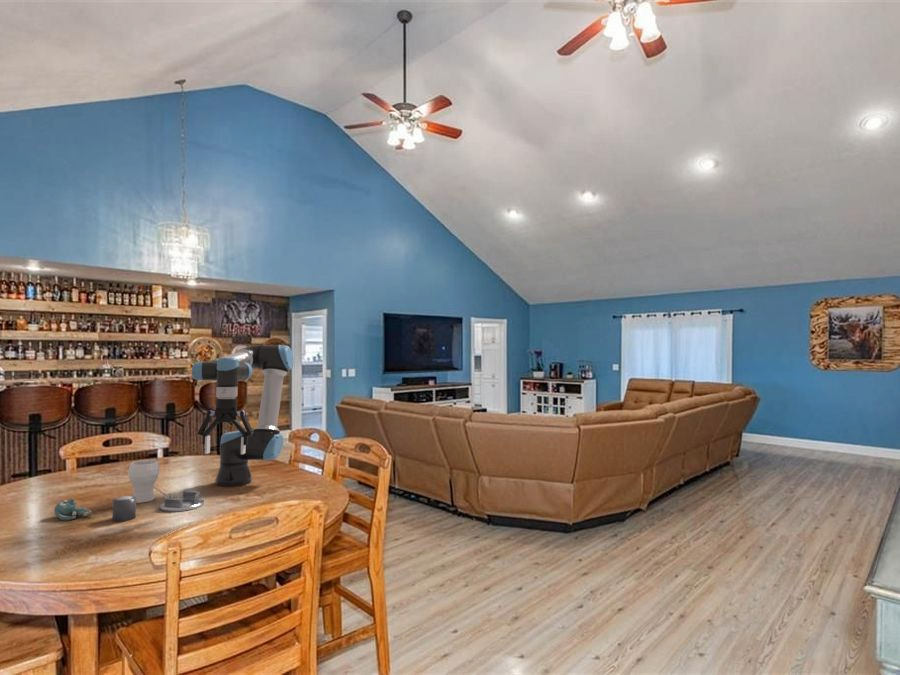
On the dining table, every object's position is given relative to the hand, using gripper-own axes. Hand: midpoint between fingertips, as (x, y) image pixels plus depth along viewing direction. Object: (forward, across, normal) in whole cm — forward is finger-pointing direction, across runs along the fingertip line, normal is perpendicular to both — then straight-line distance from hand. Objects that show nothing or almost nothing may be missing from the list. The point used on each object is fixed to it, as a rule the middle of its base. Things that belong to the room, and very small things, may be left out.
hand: (225, 453), depth 195 cm
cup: (+21, -36, +10) cm, 43 cm away
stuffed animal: (+21, -49, -11) cm, 55 cm away
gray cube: (+21, -30, -13) cm, 39 cm away
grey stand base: (+21, -17, +3) cm, 27 cm away
